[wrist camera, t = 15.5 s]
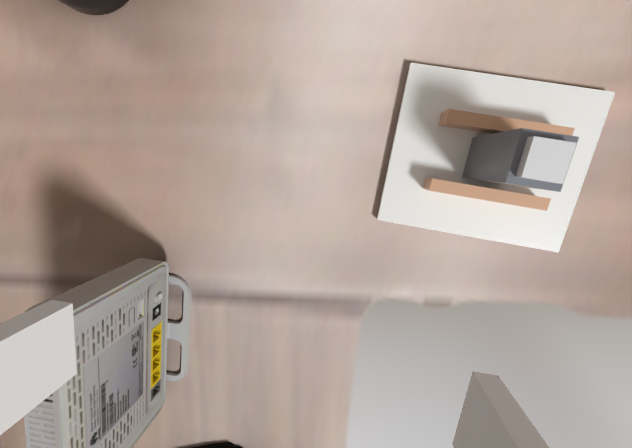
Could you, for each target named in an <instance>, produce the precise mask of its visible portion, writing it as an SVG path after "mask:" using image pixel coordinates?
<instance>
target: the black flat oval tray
mask: <svg viewBox="0 0 632 448" xmlns="http://www.w3.org/2000/svg"><path fill="white" fill-rule="evenodd" d="M194 448H241V447H237V446H235V445H234V444H232V443H230V442H229V443H217V444H210V445H204V446H199V447H194Z"/></svg>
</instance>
